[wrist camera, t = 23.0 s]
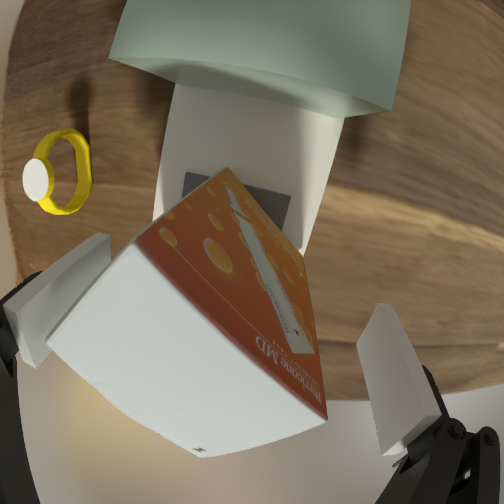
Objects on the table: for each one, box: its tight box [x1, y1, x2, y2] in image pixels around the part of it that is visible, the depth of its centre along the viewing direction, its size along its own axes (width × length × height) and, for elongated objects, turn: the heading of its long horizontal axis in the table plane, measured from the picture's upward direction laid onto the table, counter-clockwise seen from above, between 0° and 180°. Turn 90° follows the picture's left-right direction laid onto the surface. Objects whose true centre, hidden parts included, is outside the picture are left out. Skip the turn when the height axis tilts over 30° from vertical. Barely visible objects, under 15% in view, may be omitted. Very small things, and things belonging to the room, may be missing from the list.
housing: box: [109, 0, 411, 119], centre depth 9 cm, size 10×10×9 cm
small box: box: [45, 167, 328, 458], centre depth 13 cm, size 8×6×13 cm
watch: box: [23, 128, 92, 215], centre depth 16 cm, size 6×3×6 cm, turn 179°
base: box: [153, 83, 344, 256], centre depth 17 cm, size 11×26×1 cm, turn 167°
